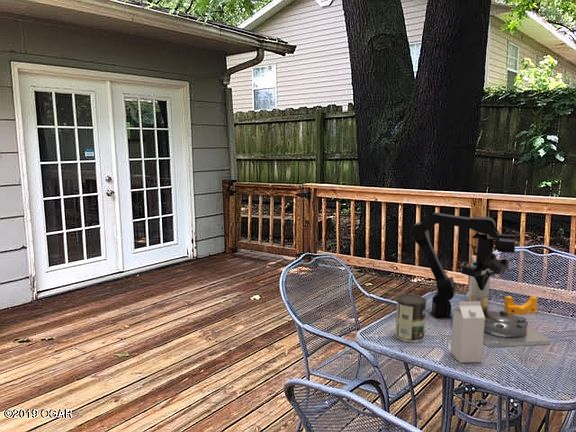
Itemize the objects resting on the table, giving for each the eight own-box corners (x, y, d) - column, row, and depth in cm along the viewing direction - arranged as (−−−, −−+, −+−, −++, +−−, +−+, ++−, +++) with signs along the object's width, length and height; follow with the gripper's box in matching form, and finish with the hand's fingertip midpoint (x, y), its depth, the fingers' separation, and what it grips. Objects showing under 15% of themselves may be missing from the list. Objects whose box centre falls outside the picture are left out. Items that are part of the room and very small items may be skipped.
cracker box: (487, 313, 194) (491, 263, 190) (471, 312, 195) (475, 262, 192) (482, 302, 207) (485, 255, 204) (467, 300, 208) (471, 254, 205)
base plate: (488, 347, 162) (489, 334, 162) (456, 321, 185) (457, 310, 184) (550, 344, 165) (551, 332, 164) (511, 319, 188) (512, 308, 187)
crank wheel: (536, 331, 172) (539, 306, 170) (507, 341, 163) (510, 315, 162) (495, 315, 186) (497, 293, 185) (466, 324, 177) (468, 300, 176)
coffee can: (423, 332, 175) (425, 295, 172) (425, 343, 165) (427, 305, 162) (394, 329, 177) (396, 293, 174) (395, 341, 167) (396, 302, 164)
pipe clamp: (508, 314, 193) (510, 299, 192) (504, 310, 197) (505, 295, 196) (538, 315, 193) (540, 299, 192) (533, 311, 197) (534, 296, 196)
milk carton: (450, 353, 158) (454, 298, 155) (471, 352, 158) (475, 297, 155) (459, 363, 151) (464, 306, 148) (481, 362, 151) (486, 305, 148)
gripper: (488, 258, 168) (484, 300, 171) (519, 251, 178) (515, 291, 180) (461, 251, 177) (458, 291, 180) (492, 246, 187) (489, 284, 190)
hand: (481, 290), depth 182 cm, fingers closed
